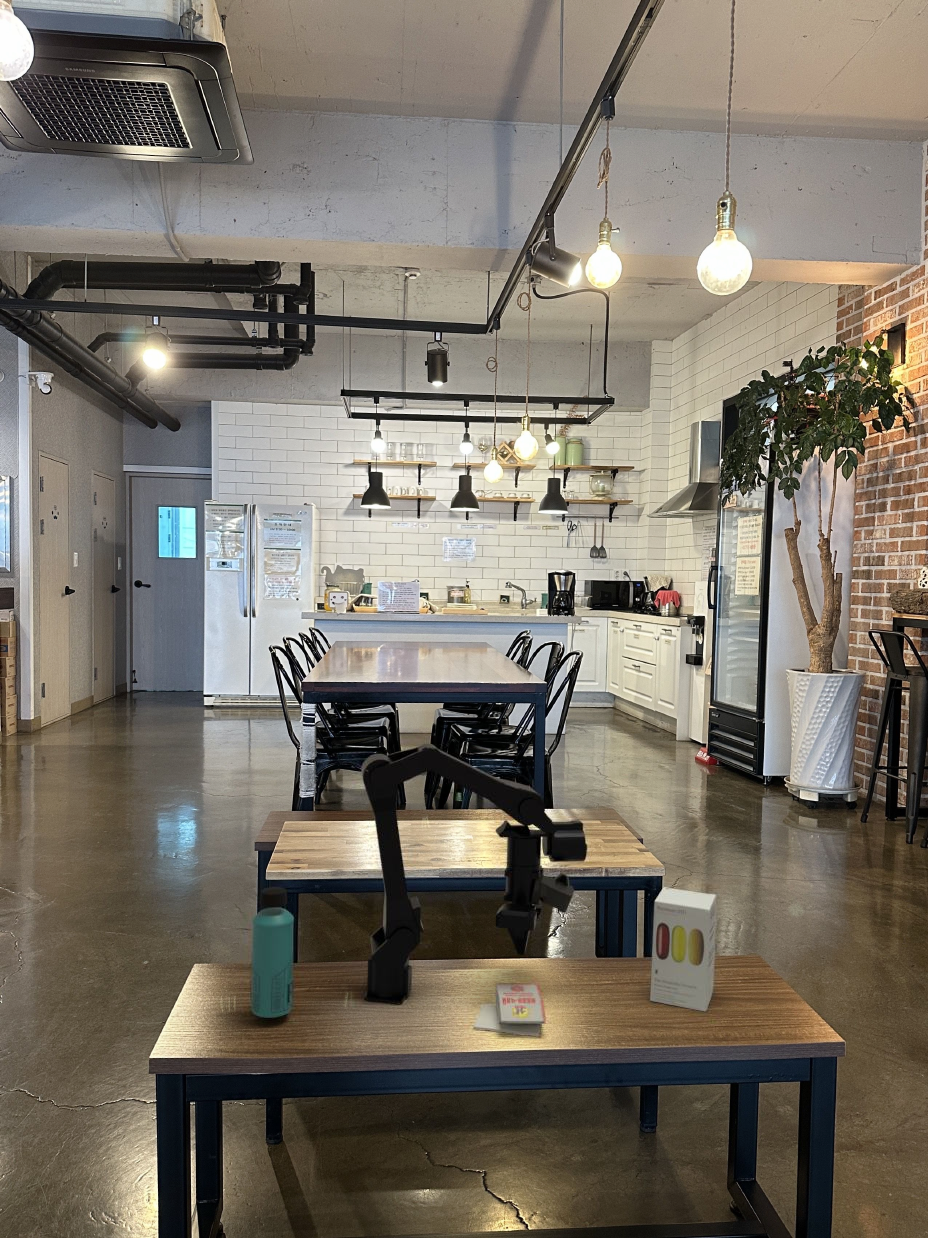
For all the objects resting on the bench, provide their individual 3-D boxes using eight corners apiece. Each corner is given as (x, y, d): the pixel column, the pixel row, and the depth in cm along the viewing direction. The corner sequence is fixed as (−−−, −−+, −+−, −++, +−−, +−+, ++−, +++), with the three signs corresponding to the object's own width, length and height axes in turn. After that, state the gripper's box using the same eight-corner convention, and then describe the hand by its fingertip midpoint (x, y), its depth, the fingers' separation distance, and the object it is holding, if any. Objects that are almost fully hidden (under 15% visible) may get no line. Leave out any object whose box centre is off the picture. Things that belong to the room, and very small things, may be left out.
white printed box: (537, 1006, 147) (545, 1035, 137) (495, 1006, 147) (501, 1034, 137) (538, 983, 147) (546, 1010, 137) (496, 983, 147) (501, 1010, 137)
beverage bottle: (292, 1027, 138) (296, 895, 138) (247, 1029, 137) (251, 896, 137) (293, 1008, 145) (296, 882, 144) (250, 1010, 143) (253, 883, 143)
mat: (473, 1029, 139) (473, 1026, 139) (482, 1006, 148) (482, 1003, 148) (538, 1037, 137) (538, 1034, 137) (544, 1013, 146) (544, 1010, 146)
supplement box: (648, 1002, 151) (651, 900, 151) (658, 981, 160) (661, 885, 160) (708, 1013, 147) (711, 908, 147) (714, 991, 156) (717, 893, 156)
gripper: (566, 881, 143) (563, 981, 143) (576, 852, 162) (573, 940, 162) (496, 876, 146) (493, 973, 146) (513, 847, 164) (511, 934, 164)
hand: (521, 954), depth 154 cm, fingers closed
